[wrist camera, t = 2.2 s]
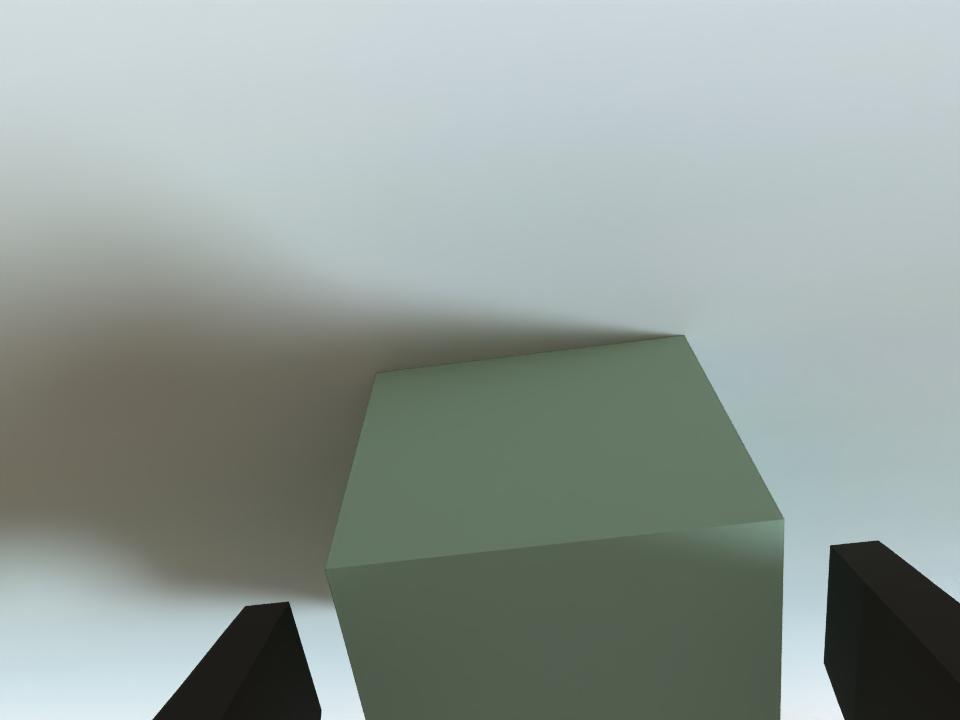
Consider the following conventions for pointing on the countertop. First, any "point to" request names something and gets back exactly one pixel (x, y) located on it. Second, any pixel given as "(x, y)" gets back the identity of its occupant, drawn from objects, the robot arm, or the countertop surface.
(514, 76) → the countertop surface
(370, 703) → the green cube
